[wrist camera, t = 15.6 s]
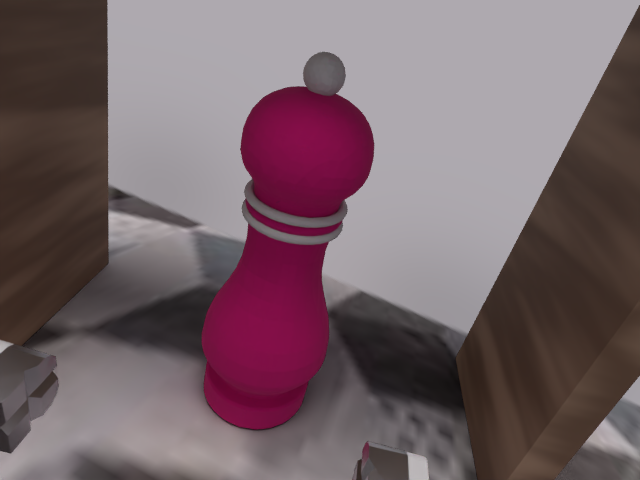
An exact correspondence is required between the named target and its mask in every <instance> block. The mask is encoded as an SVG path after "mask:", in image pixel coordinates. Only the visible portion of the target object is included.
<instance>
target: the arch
mask: <svg viewBox="0 0 640 480" xmlns="http://www.w3.org/2000/svg"><path fill="white" fill-rule="evenodd" d="M107 45H108V43H107V0H0V340H2V341H6V342H9V343H13V344H16V345H19V346H22V345H23V344H24V343H25V342H26V341H27V340H28V339H29V338H30V337H31V336H32V335H33V334H35V333H36V332H37V331H38V330H39V329H40V328H41V327H42V326H43V325H44V324H45V323H46V322H47V321H48V320H49V319H50V318H51V317H52V316H53V315H55V314H56V313H57V312H58V311H59V310H60V309H61V308H62V307H63V306H64V305H65V304H66V303H67V302H68V301H69V300H70V299H71V298H72V297H73V296H75V295H76V294H77V293H78V292H79V291H80V290H81V289H82V288H83V287H84V286H85V285H86V284H87V283H88V282H89V281H90V280H91V279H92V278H94V277H95V276H96V275H97V274H98V273H99V272H100V271H101V270H102V269H103V268H104V267H105V266H106V265H107V264H108V52H107V51H108V46H107ZM456 364H457V369H458V375H459V380H460V386H461V391H462V397H463V402H464V408H465V413H466V419H467V424H468V430H469V435H470V440H471V446H472V451H473V457H474V462H475V468H476V473H477V479H478V480H554V479H555V478H556V477H557V476H558V474H559V473H560V472H561V471H562V469H563V468H564V467H565V466H566V465H567V463H568V462H569V461H570V460H571V458H572V457H573V456H574V455H575V454H576V452H577V451H578V450H579V449H580V448H581V446H582V445H583V444H584V443H585V441H586V440H587V439H588V438H589V437H590V435H591V434H592V433H593V432H594V431H595V429H596V428H597V427H598V426H599V424H600V423H601V422H602V421H603V420H604V418H605V417H606V416H607V415H608V414H609V412H610V411H611V410H612V409H613V407H614V406H615V405H616V404H617V403H618V401H619V400H620V399H621V398H622V396H623V395H624V394H625V393H626V391H627V390H628V389H629V388H630V387H631V385H632V384H633V383H634V382H635V381H636V379H637V378H638V377H639V376H640V5H639V7H638V9H637V11H636V13H635V15H634V17H633V19H632V21H631V23H630V25H629V26H628V28H627V30H626V32H625V34H624V36H623V38H622V40H621V42H620V44H619V46H618V48H617V49H616V52H615V53H614V55H613V57H612V59H611V61H610V63H609V65H608V67H607V69H606V70H605V72H604V74H603V76H602V78H601V80H600V82H599V84H598V86H597V88H596V90H595V92H594V94H593V95H592V97H591V99H590V101H589V103H588V105H587V107H586V109H585V111H584V113H583V115H582V117H581V119H580V120H579V122H578V124H577V126H576V128H575V130H574V132H573V134H572V136H571V138H570V140H569V141H568V143H567V146H566V147H565V149H564V151H563V153H562V155H561V157H560V159H559V161H558V163H557V164H556V166H555V168H554V170H553V172H552V174H551V176H550V178H549V180H548V182H547V184H546V186H545V188H544V189H543V191H542V193H541V195H540V197H539V199H538V201H537V203H536V205H535V207H534V209H533V211H532V212H531V214H530V216H529V218H528V220H527V222H526V224H525V226H524V228H523V230H522V232H521V233H520V235H519V237H518V239H517V241H516V243H515V245H514V247H513V249H512V251H511V253H510V255H509V257H508V258H507V261H506V262H505V264H504V266H503V268H502V270H501V272H500V274H499V276H498V278H497V280H496V281H495V284H494V285H493V288H492V289H491V291H490V293H489V295H488V297H487V299H486V301H485V303H484V304H483V306H482V308H481V310H480V312H479V314H478V316H477V318H476V320H475V322H474V324H473V326H472V328H471V329H470V331H469V333H468V335H467V337H466V339H465V341H464V343H463V345H462V347H461V349H460V350H459V352H458V354H457V356H456Z"/></svg>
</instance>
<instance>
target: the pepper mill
mask: <svg viewBox="0 0 640 480" xmlns="http://www.w3.org/2000/svg"><path fill="white" fill-rule="evenodd" d="M303 76H304V82H305V85H306V86H307V87H299V86H298V87H287V88H283V89H281V90H277V91H274V92H272V93H270V94H268V95H267V96H265V97H263V98H262V99H261V100H260V101H259V102H258V103H257V104H256V105H255V107H253V109H252V110H251V112H250V114H249V116H248V117H247V120H246V123H245V125H244V128H243V133H242V140H241V148H240V150H241V154H242V160H243V163H244V166H245V168H246V169H247V171H248V172H249V174H250V175H251V177H252V180H251V181H249V182H248V183H247V185H246V187H245V191H244V193H245V197H246V199H245V200H244V202H243V205H242V213H243V216H244V218H245V219H246V221H247V222H248V233H247V239H246V243H245V247H244V250H243V254H242V257H241V259H240V261H239V263H238V265H237V267H236V269H235V270H234V272H233V273H232V275H231V276H230V278H229V279H228V280H227V282H226V283H225V284H224V285H223V287H222V288H221V289H220V290H219V291H218V293H217V294H216V296H215V298H214V299H213V301H212V303H211V305H210V307H209V309H208V311H207V314H206V318H205V322H204V326H203V330H202V347H203V352H204V354H205V356H206V359H207V365H206V371H205V378H204V393H205V396H206V399H207V401H208V403H209V405H210V406H211V407H212V409H213V410H214V411H215V412H216V413H217V414H218V415H219V416H220V417H221V418H223V419H224V420H226V421H228V422H230V423H232V424H234V425H236V426H238V427H244V428H250V429H255V430H256V429H266V428H272V427H274V426H277V425H280V424H283V423H284V422H286V421H287V420H289V419H290V418H291V417H292V416H293V415H295V413H296V412H297V411H298V409H299V408H300V406H301V404H302V402H303V398H304V395H305V392H306V389H307V385H308V381H309V380H310V379H311V378H312V377H313V376H314V375H315V374H316V373H317V372H318V371H319V369H320V367H321V366H322V364H323V361H324V359H325V356H326V351H327V346H328V340H329V319H328V312H327V307H326V302H325V297H324V292H323V286H322V266H323V260H324V255H325V251H326V248H327V245H328V243H329V241H331V240H333V239H335V238H336V237H337V236H338V235H339V234H340V233H341V231H342V227H343V223H342V220H343V219H344V217H345V216H346V214H347V205H346V202H345V199H346V198H348V197H350V196H351V195H353V194H354V193H356V191H358V190H359V189H360V188H361V187H362V186H363V184H364V183H365V181H366V179H367V178H368V176H369V173H370V170H371V166H372V162H373V157H374V140H373V134H372V131H371V128H370V125H369V123H368V121H367V120H366V118H365V116H364V115H363V114H362V112H361V111H360V110H359V109H358V108H357V107H355V106H354V105H353V104H352V103H351V102H350V101H348V100H346V99H345V98H343V97H341V96H339V95H337V94H336V93H337V92H338V91H339V90H340V89H341V88H342V86H343V84H344V81H345V76H346V75H345V67H344V65H343V63H342V61H341V60H340V59H339V58H338V57H337V56H336V55H334V54H331V53H328V52H321V53H317V54H315V55H314V56H312V57H311V58H310V59H309V60H308V61H307V63H306V65H305V67H304V72H303Z"/></svg>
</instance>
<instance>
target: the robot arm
mask: <svg viewBox="0 0 640 480" xmlns="http://www.w3.org/2000/svg"><path fill="white" fill-rule="evenodd" d="M56 366H57V362H56V356H52V355H49V354H46V353H43V352H39V351H36V350H33V349H29V348H26V347H23V346H19V345H16V344H13V343H9V342H6V341H2V340H0V451H3V452H7V453H12V452H13V451H14V449H15V448H16V447H17V446H18V445H19V443H20V442H21V441H22V440H23V439H24V437H25V436H26V435H27V434H28V433H29V432H30V430H31V421H32V420H34V419H36V418H38V417H40V416H42V415H44V413H45V412H46V411H47V410H48V408H49V407H50V406H51V404H52V402H53V400H54V398H55V396H56V394H57V390H58V385H59V384H58V378H57V376H56V375H55V374H54V373H53V370H54V369H55V368H56ZM352 480H429V471H428V461H427V459H426V457H424V456H421V455H417V454H413V453H409V452H405V451H404V450H400V449H396V448H392V447H388V446H385V445H381V444H377V443H373V442H369V441H367V442H366V443H365V446H364V448H363V451H362V459H360V460H358V462H357V464H356V467H355V469H354V473H353V477H352Z"/></svg>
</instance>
